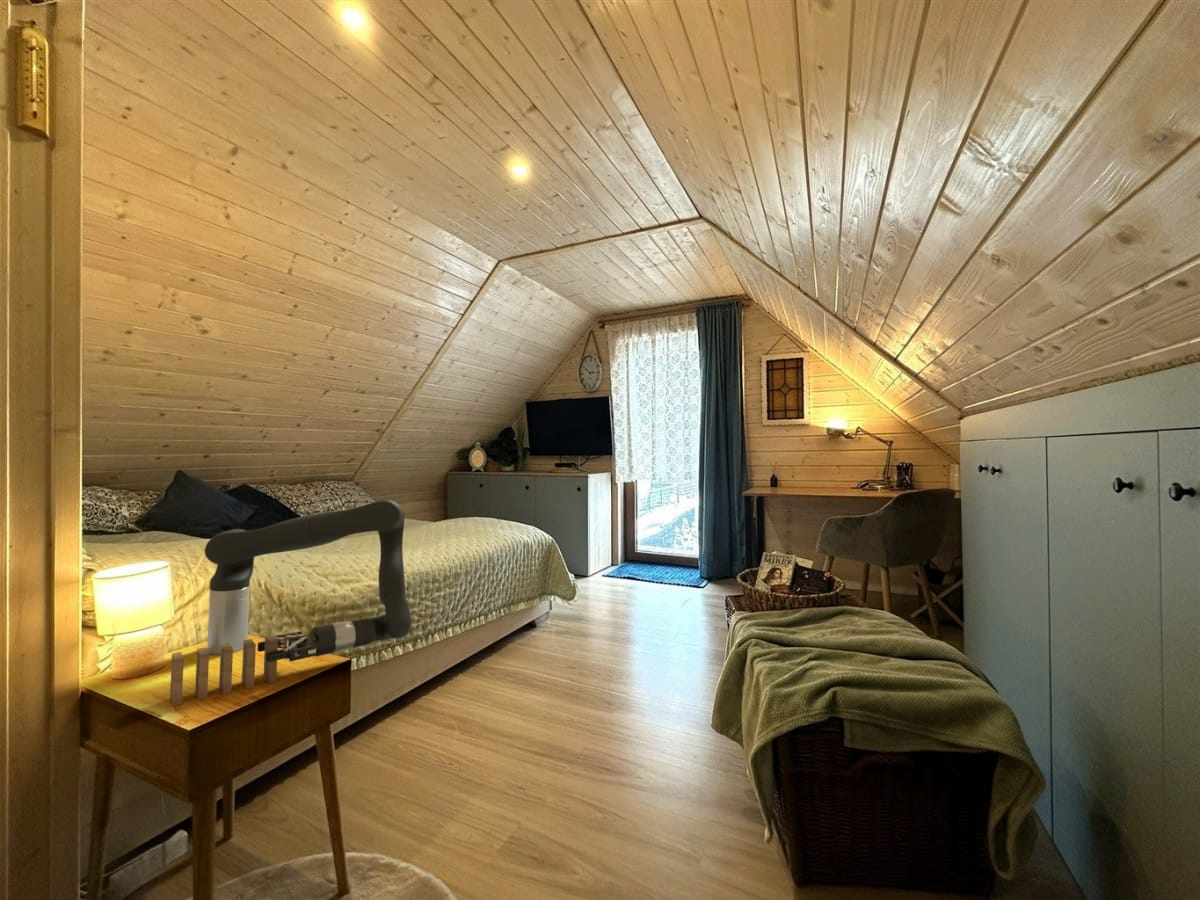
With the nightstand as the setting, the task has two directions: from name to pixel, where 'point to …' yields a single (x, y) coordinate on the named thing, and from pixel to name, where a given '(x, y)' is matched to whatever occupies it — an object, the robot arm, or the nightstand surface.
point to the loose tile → (271, 667)
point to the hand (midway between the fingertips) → (261, 652)
